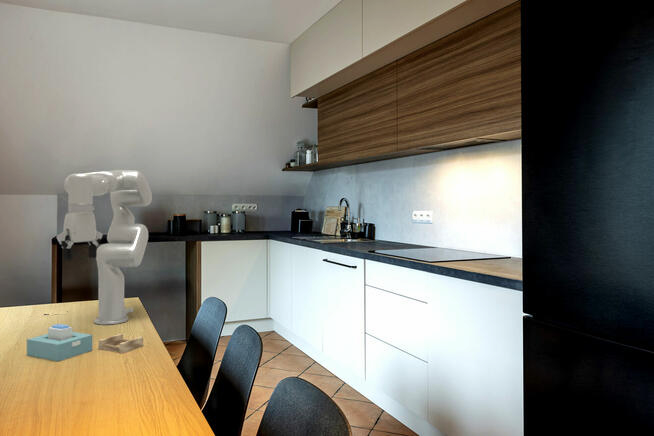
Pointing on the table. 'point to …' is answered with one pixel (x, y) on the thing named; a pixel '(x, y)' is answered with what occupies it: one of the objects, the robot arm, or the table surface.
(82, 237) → the robot arm
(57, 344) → the block
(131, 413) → the table surface
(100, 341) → the wooden frame
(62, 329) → the white box blue label
